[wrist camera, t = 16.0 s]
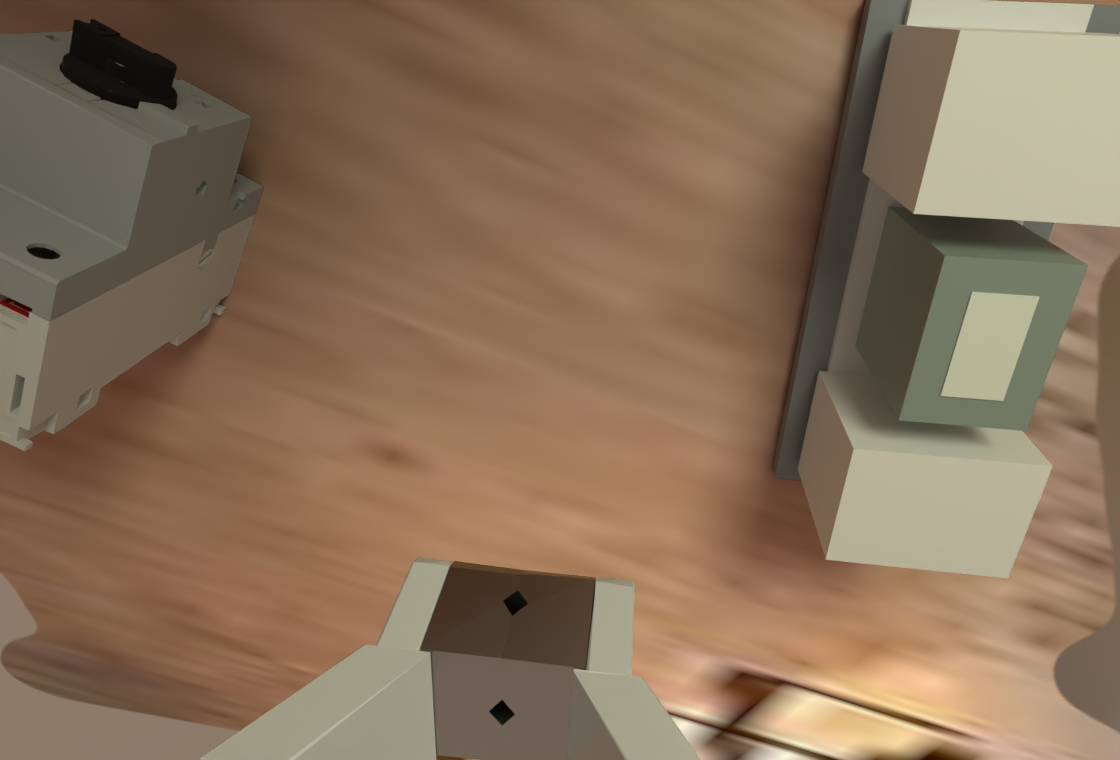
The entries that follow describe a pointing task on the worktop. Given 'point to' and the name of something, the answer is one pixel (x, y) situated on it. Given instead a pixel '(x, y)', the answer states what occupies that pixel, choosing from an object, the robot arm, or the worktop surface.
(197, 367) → the worktop surface
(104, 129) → the circuit breaker
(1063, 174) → the rail base
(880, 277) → the block
